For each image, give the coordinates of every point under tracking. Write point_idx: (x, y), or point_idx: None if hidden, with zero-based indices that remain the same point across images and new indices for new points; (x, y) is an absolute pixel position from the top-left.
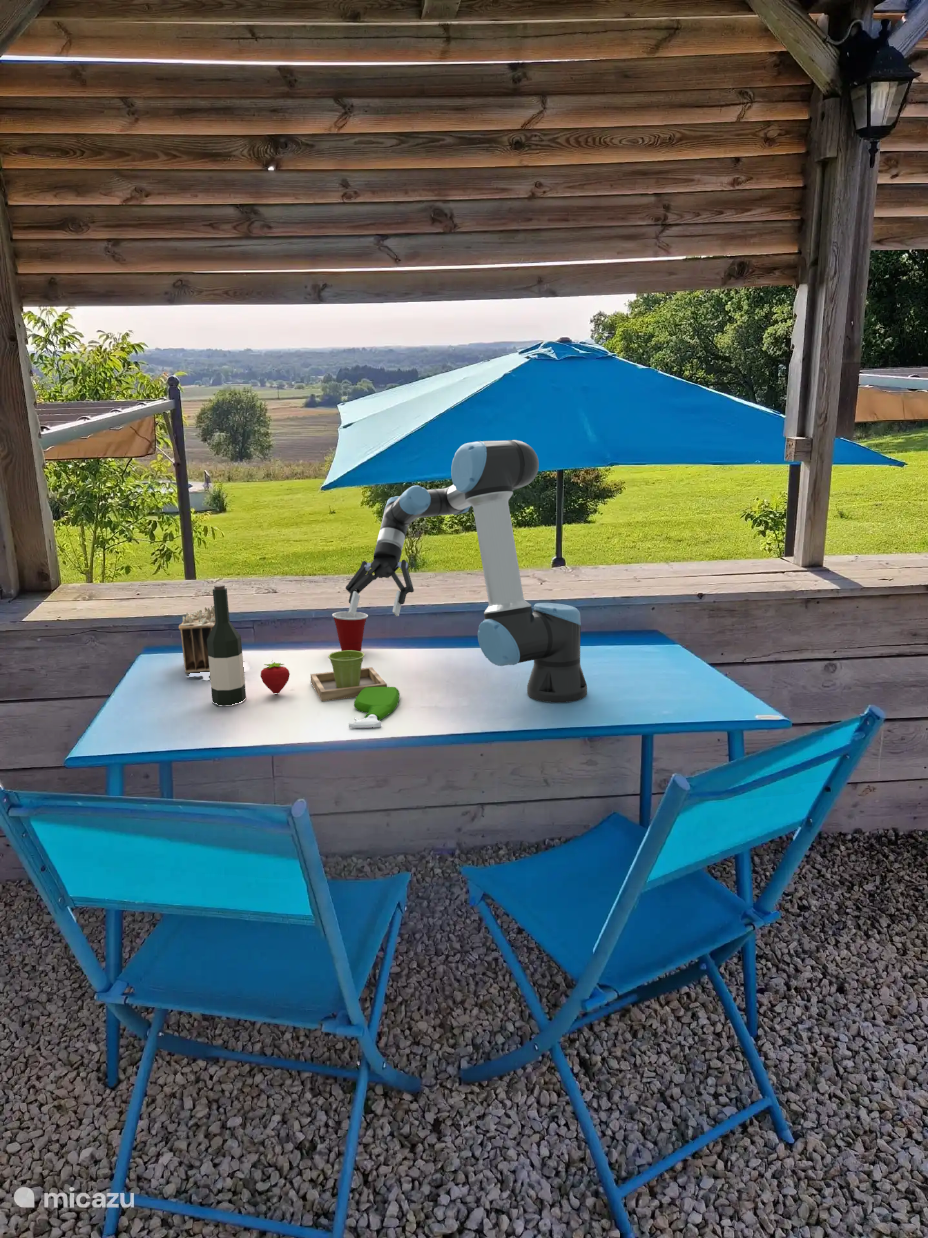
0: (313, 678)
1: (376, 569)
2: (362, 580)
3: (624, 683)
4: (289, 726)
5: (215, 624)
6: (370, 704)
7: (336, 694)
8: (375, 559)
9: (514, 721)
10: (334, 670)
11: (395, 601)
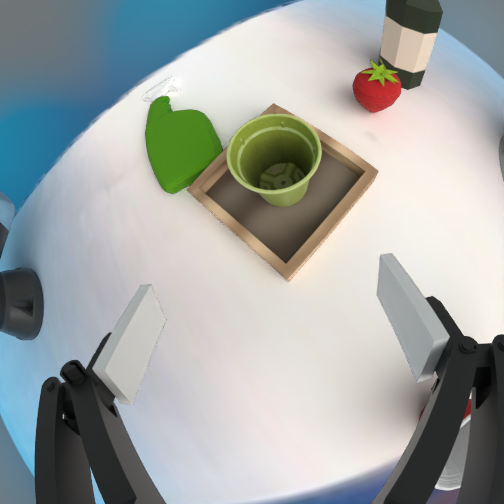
0: (349, 150)
1: None
2: (438, 434)
3: (8, 361)
4: (248, 50)
5: None
6: (170, 113)
7: None
8: None
9: (42, 198)
10: (291, 140)
11: (126, 319)
